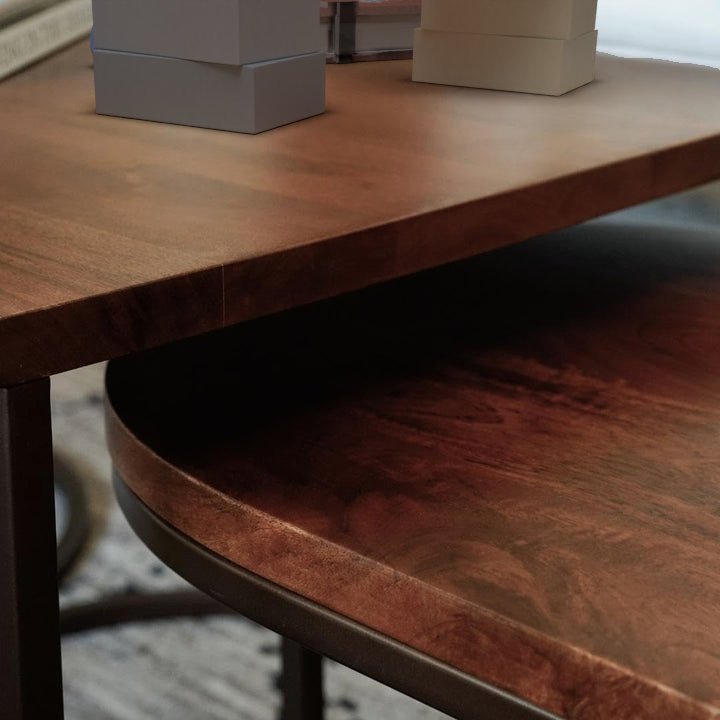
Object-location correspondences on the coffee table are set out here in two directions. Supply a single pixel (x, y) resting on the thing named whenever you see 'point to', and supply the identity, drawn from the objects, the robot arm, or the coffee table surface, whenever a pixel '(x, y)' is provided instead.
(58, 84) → the coffee table surface
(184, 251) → the coffee table surface
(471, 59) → the cream stack
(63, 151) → the coffee table surface
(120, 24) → the grey stack
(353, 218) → the coffee table surface
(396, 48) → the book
